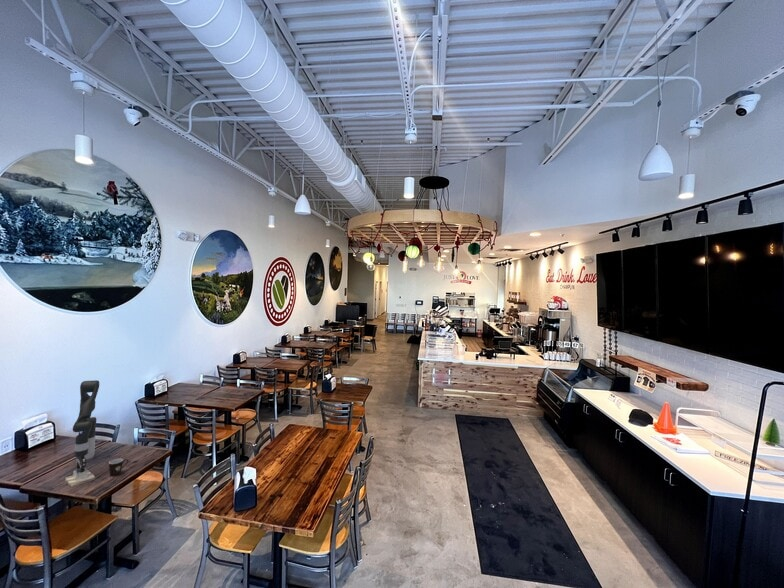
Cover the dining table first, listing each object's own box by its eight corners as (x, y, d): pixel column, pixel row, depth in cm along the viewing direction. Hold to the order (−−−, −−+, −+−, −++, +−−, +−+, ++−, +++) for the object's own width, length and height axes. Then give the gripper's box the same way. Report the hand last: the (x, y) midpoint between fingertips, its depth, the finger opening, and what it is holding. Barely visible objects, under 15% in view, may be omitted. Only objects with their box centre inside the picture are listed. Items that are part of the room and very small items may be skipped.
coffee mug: (107, 478, 245) (108, 465, 245) (108, 473, 252) (109, 460, 252) (127, 474, 252) (127, 461, 252) (128, 469, 259) (128, 456, 259)
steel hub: (73, 477, 242) (73, 471, 242) (84, 474, 247) (85, 467, 247) (75, 480, 238) (76, 473, 238) (87, 476, 244) (87, 470, 244)
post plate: (65, 479, 242) (65, 470, 242) (88, 472, 252) (88, 463, 253) (71, 487, 233) (71, 478, 233) (95, 479, 244) (95, 470, 244)
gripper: (91, 449, 242) (90, 471, 242) (85, 444, 250) (84, 465, 250) (77, 453, 236) (76, 475, 236) (71, 447, 244) (70, 469, 244)
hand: (80, 470), depth 243 cm, fingers open, 8 cm apart
